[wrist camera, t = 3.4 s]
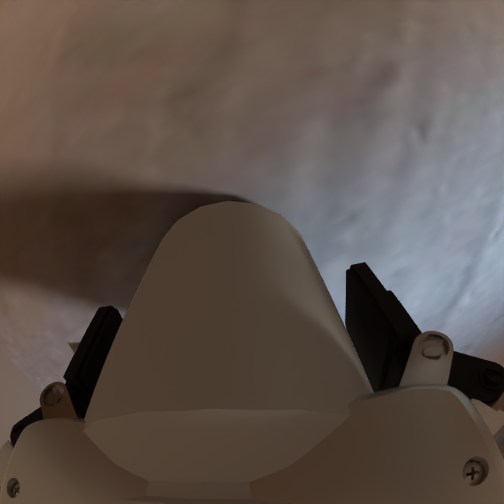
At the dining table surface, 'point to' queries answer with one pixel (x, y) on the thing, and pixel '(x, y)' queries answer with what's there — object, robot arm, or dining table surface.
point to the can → (224, 361)
